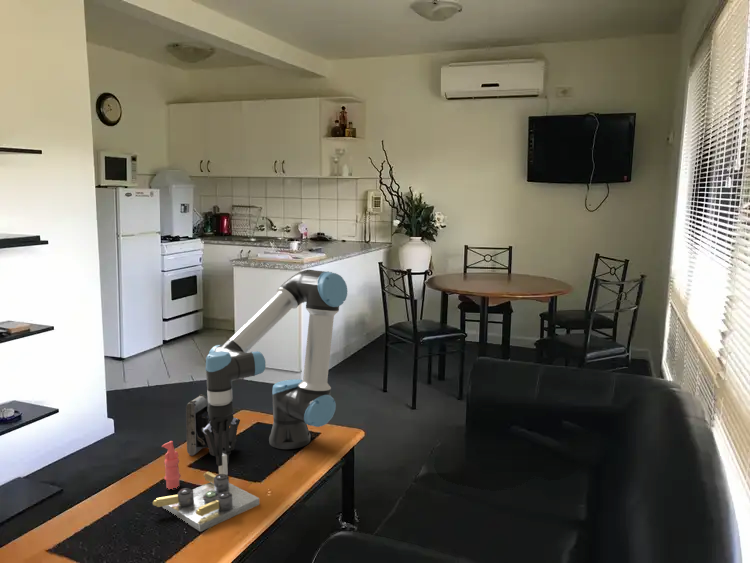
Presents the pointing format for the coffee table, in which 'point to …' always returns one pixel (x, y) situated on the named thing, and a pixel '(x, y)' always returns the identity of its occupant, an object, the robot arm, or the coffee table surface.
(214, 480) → the screw
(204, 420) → the vintage camera
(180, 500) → the screw
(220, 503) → the screw side
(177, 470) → the figurine
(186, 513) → the tribrach plate
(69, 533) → the coffee table surface
